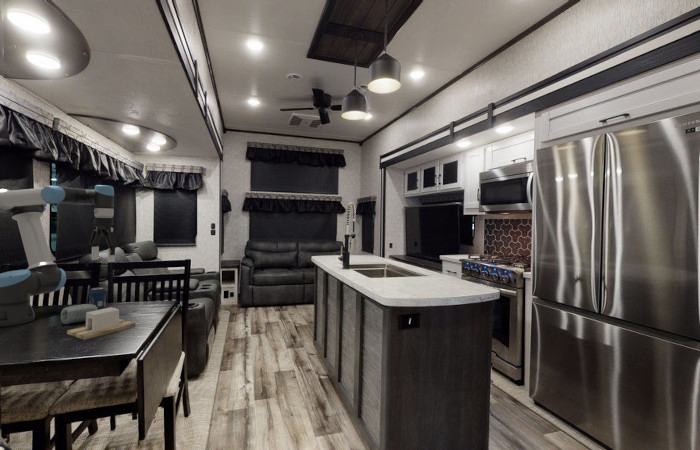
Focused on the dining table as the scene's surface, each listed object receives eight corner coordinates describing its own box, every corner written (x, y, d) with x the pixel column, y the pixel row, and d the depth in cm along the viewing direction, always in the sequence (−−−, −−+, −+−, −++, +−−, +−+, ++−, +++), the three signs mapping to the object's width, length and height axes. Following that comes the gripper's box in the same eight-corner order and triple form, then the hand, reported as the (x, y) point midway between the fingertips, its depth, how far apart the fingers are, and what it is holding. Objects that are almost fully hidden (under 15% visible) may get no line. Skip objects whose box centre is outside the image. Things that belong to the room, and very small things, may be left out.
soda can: (86, 311, 173) (87, 288, 173) (102, 308, 179) (102, 286, 179) (91, 313, 169) (92, 290, 169) (107, 310, 175) (107, 288, 175)
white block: (85, 328, 143) (86, 312, 142) (110, 322, 152) (111, 307, 151) (93, 331, 140) (94, 314, 140) (118, 324, 149) (119, 309, 149)
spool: (57, 321, 146) (65, 299, 151) (56, 325, 152) (64, 304, 157) (94, 323, 154) (101, 302, 159) (92, 328, 160) (99, 307, 165)
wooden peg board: (66, 333, 140) (67, 321, 140) (117, 321, 158) (117, 310, 158) (85, 339, 134) (85, 326, 134) (135, 326, 152) (135, 314, 152)
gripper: (80, 216, 161) (80, 259, 162) (110, 217, 151) (109, 263, 151) (98, 216, 168) (97, 258, 168) (127, 218, 157) (126, 262, 158)
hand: (103, 260), depth 160 cm, fingers open, 13 cm apart
